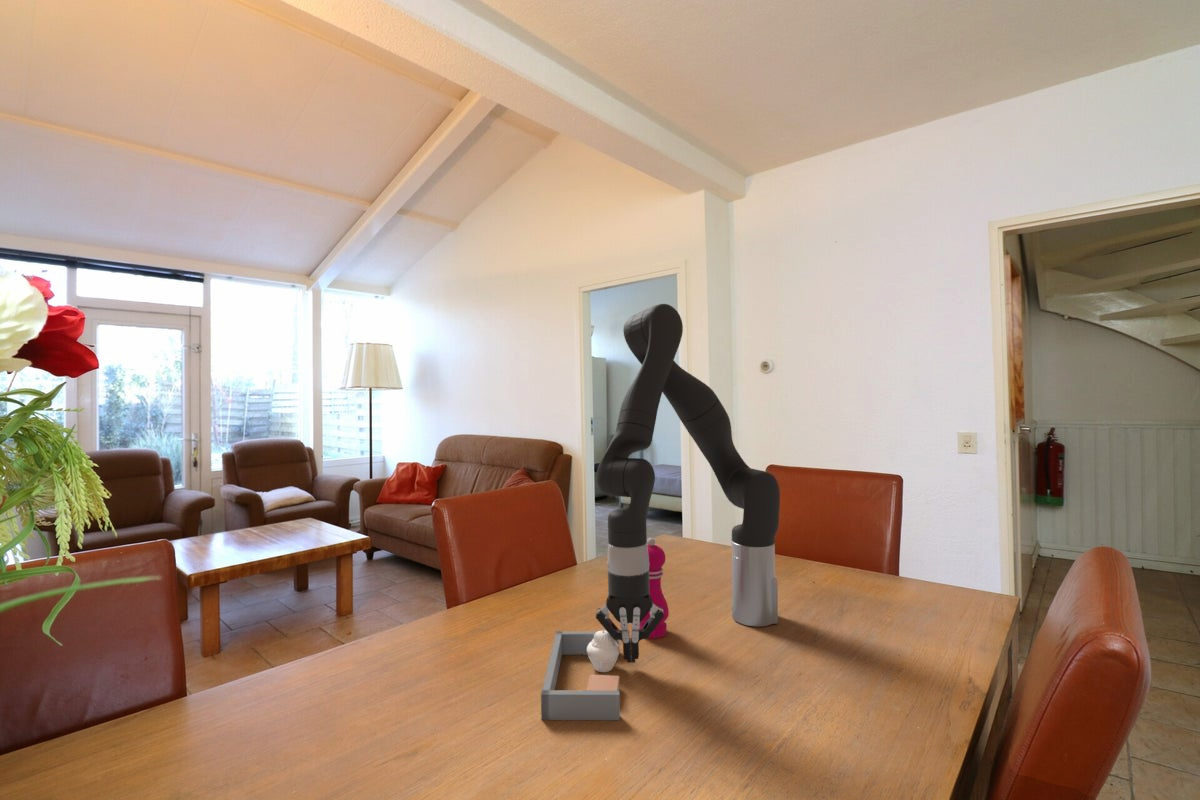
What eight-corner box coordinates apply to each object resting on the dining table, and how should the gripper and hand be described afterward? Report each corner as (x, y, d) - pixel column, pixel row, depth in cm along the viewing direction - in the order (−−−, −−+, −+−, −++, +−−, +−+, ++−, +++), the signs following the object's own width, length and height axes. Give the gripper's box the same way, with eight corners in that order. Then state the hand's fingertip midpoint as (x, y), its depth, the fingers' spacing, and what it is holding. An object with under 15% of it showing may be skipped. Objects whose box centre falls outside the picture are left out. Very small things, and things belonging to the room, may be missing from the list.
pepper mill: (667, 641, 113) (666, 543, 113) (632, 638, 115) (631, 541, 114) (670, 626, 120) (669, 534, 120) (636, 623, 122) (636, 532, 121)
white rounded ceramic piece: (594, 658, 107) (593, 621, 107) (624, 663, 104) (624, 626, 104) (581, 673, 101) (581, 635, 101) (613, 679, 99) (613, 640, 99)
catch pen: (618, 651, 109) (618, 631, 109) (619, 720, 87) (619, 694, 86) (556, 651, 109) (556, 631, 109) (541, 719, 87) (541, 694, 87)
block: (619, 690, 96) (619, 675, 96) (616, 706, 91) (616, 691, 91) (590, 688, 96) (590, 674, 96) (586, 705, 91) (586, 689, 91)
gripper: (662, 559, 105) (665, 650, 106) (592, 561, 106) (595, 651, 106) (666, 573, 98) (669, 670, 98) (591, 574, 98) (594, 671, 99)
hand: (631, 660), depth 102 cm, fingers closed
